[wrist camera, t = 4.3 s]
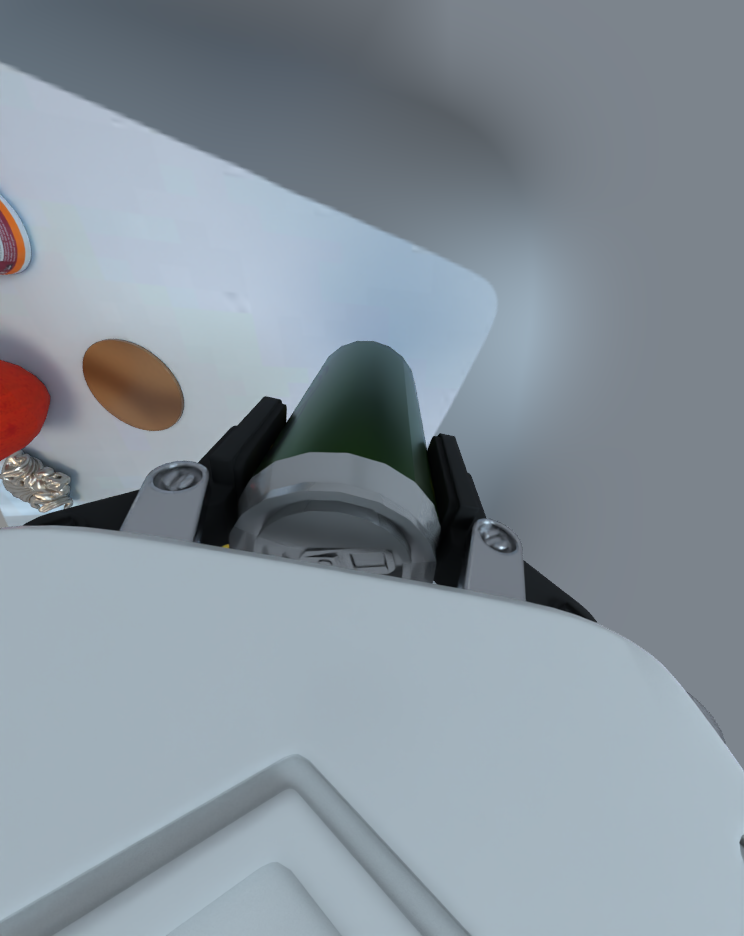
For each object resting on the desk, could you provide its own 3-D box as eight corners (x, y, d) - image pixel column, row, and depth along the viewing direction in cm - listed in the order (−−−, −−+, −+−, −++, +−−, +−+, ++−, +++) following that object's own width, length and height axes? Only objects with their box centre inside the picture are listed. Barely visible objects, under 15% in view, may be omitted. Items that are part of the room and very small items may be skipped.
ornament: (100, 497, 37) (75, 517, 34) (56, 502, 38) (27, 523, 35) (52, 443, 33) (18, 460, 30) (2, 451, 34) (-35, 468, 31)
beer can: (409, 328, 15) (443, 465, 5) (418, 423, 18) (449, 622, 8) (308, 346, 16) (169, 494, 6) (333, 434, 19) (268, 627, 9)
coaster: (71, 328, 26) (66, 329, 26) (175, 351, 27) (172, 352, 26) (103, 419, 31) (99, 421, 31) (190, 436, 32) (188, 438, 31)
